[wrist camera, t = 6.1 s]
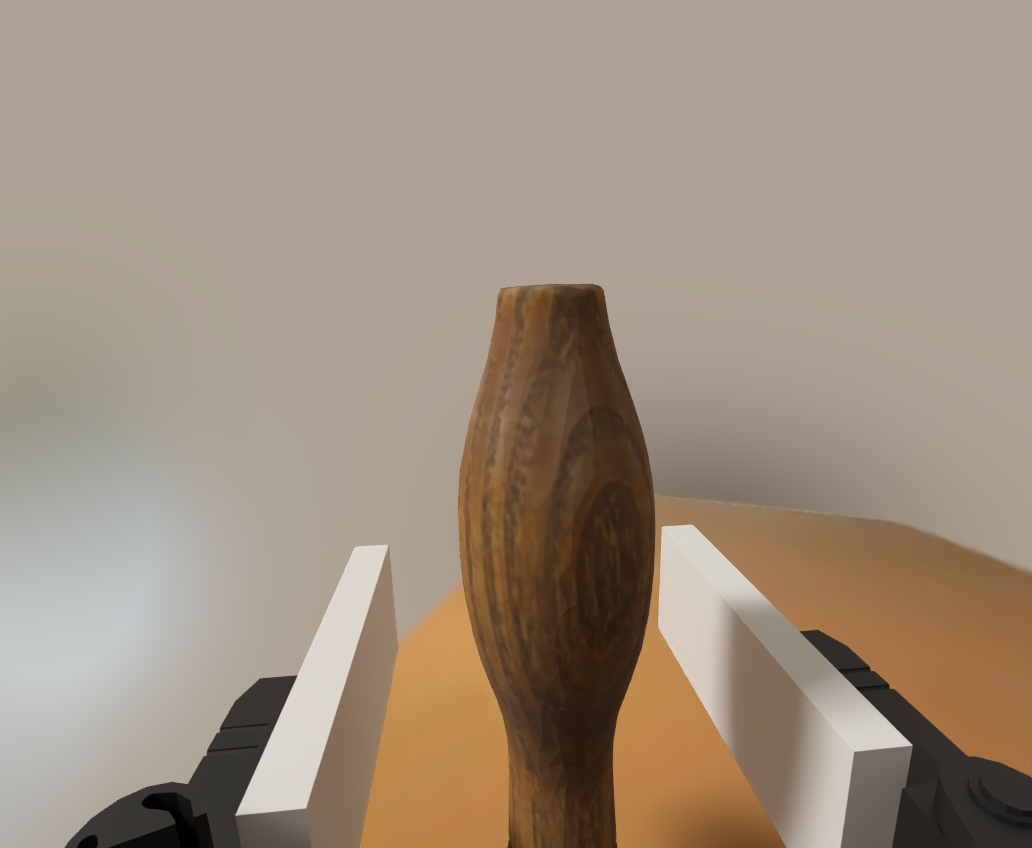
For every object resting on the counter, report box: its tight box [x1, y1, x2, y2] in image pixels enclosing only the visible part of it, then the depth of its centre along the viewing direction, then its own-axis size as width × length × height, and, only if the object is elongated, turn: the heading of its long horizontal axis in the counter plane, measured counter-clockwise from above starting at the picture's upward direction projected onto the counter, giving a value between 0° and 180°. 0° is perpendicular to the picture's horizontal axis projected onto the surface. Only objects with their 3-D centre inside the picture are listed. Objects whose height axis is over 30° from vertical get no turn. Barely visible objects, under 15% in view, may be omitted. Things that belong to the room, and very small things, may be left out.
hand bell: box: [458, 284, 655, 848], centre depth 8 cm, size 8×8×16 cm
